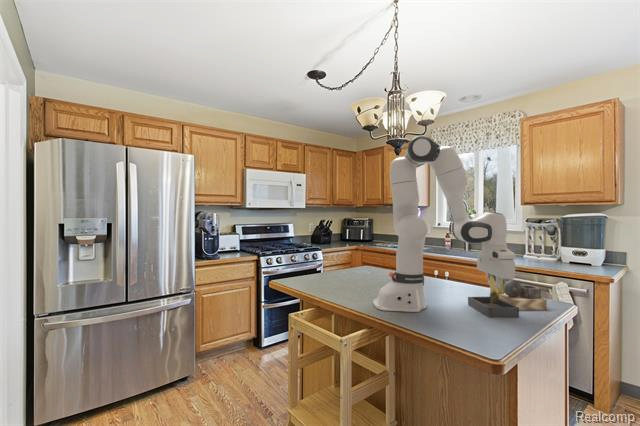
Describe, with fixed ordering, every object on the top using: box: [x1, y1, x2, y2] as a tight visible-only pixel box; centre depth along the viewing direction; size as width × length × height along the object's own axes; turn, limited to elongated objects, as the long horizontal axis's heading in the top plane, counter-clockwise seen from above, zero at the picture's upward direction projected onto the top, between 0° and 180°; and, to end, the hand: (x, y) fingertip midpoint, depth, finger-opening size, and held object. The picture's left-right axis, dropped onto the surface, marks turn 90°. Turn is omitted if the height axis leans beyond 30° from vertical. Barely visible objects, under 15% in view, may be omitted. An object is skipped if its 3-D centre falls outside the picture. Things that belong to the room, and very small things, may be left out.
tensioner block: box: [499, 279, 548, 311], centre depth 132 cm, size 14×10×11 cm
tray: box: [467, 296, 520, 318], centre depth 127 cm, size 16×12×4 cm
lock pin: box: [489, 274, 499, 304], centre depth 127 cm, size 3×3×12 cm
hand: (494, 285), depth 127 cm, fingers closed on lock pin, 3 cm apart
